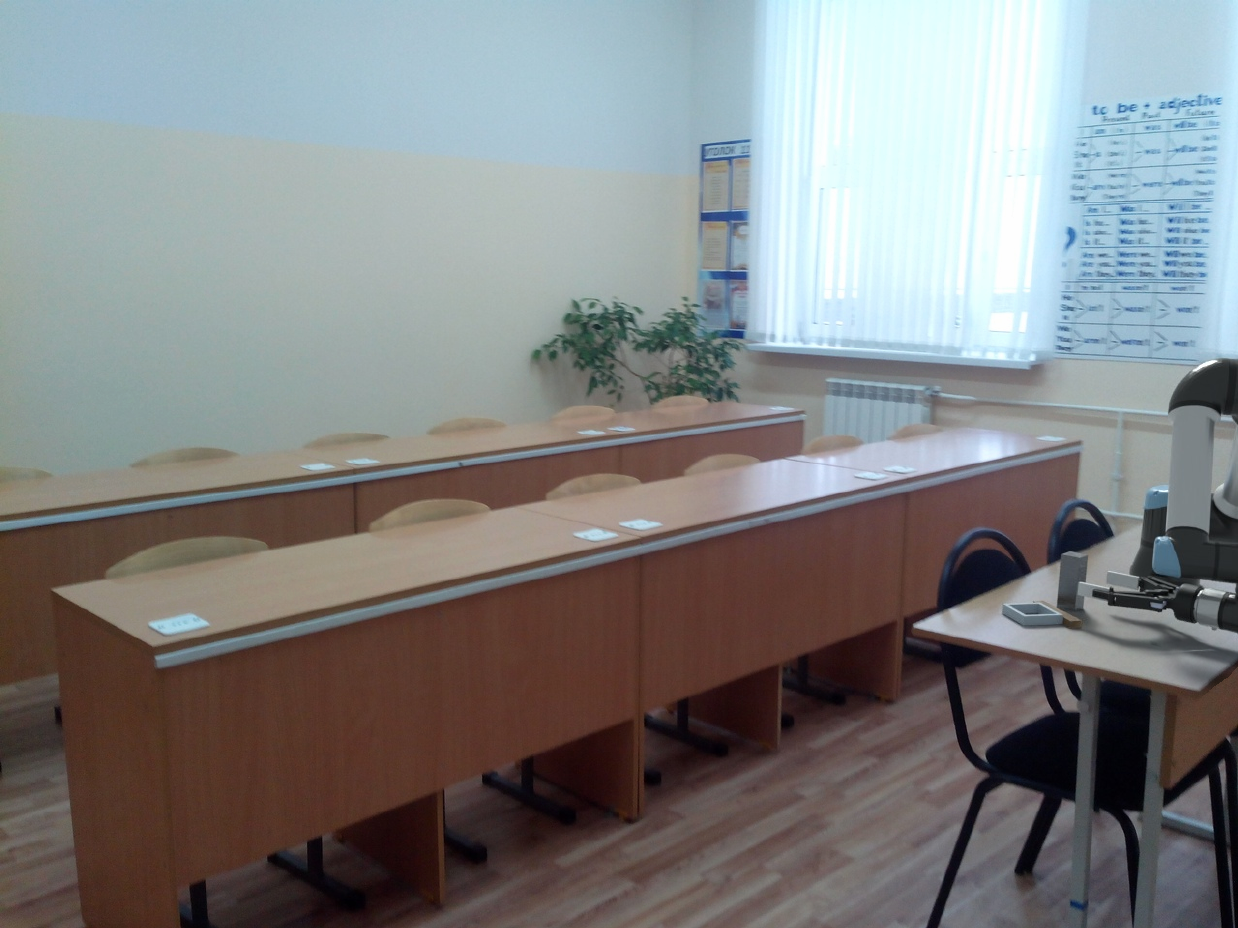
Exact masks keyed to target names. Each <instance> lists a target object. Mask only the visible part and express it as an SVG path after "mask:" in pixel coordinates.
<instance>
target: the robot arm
mask: <svg viewBox="0 0 1238 928" xmlns="http://www.w3.org/2000/svg"><path fill="white" fill-rule="evenodd" d="M1167 410H1168V411H1167V420H1168V422H1169V423H1170V424H1171V425H1172V431H1171V433H1172V434H1171V445H1170V446H1171V447H1170V463H1169V475H1168V477H1169V478H1168V479H1169V480H1168V484H1163V485H1156V486H1153V487H1151V488H1149V489H1148V490H1147V491H1146V492H1145V498H1144V504H1143V506H1142V509H1143V514H1142V515H1143V517H1142V526H1141V534H1140V543H1139V544H1140V545H1139V547H1138V550H1137V552H1136V554H1135V556H1134V559H1133V562H1132V564H1131V565H1130V567H1129V570H1128V571H1129V572H1128V573H1129V574H1126V573H1120V572H1115V571H1111V570H1108V571H1107V572H1106V579H1105V581H1106V582H1105V584H1106V585H1107V584H1108V585H1111V586H1109V587H1107V586H1102V585H1098V584H1093V583H1088V582H1086V583H1084V582H1079V585H1078V595H1080V596H1084V598H1085V597H1086V598H1090V599H1096V600H1099V601H1103V602H1107V606H1109V607H1118V608H1127V609H1128V608H1129V609H1135V610H1136V609H1137V610H1145V611H1151V612H1157V613H1163V611H1166V610H1167V609H1168V610H1169V609H1171V610H1172V611H1173V615H1174V618H1175V619H1176V620H1177V621H1182V622H1184V623H1188V624H1189V623H1190V624H1193V625H1194V624H1195V625H1196V624H1197V623H1198V625H1200V626H1204V627H1209V628H1211V630H1212V631H1214V632H1215V631H1217V630H1222V631H1227V632H1230V633H1234V634H1238V358H1228V357H1219V358H1214V359H1210V360H1207V361H1204V362H1202V363H1200V364H1198V365H1197V366H1195V367H1194V368H1193V369H1191V370H1190V371H1188V373H1186V374H1185V375H1184V377H1182V379H1181V380H1180V381H1179V383H1177V386H1176V387H1175V389H1174V391H1173V393H1172V394H1171V396H1170V399H1169V403H1168V409H1167ZM1222 415H1223V416H1230V417H1231V420H1232V421H1233V422H1234V424H1235V431H1234V436H1233V441H1232V444H1231V450H1230V454H1229V459H1228V464H1227V469H1226V474H1225V477H1224V481H1223V483H1222V484H1220V485H1219V486H1218V487H1217V488H1216V489H1215V490H1214V493H1212V484H1213V464H1214V462H1213V461H1214V447H1215V445H1214V443H1215V429H1216V428H1215V427H1216V426H1217V425H1218V424H1219V423H1220V422H1221V418H1222ZM1201 580H1203V581H1212V582H1219V583H1228V584H1234V585H1235V587H1234V592H1231V591H1227V590H1222V589H1217V588H1211V587H1206V588H1204V587H1203V586H1201ZM1113 586H1116V587H1121V588H1126V589H1129V590H1114V587H1113ZM1130 590H1135V591H1130ZM1138 590H1139V591H1138Z"/></svg>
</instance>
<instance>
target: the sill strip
mask: <svg viewBox="0 0 1238 928" xmlns="http://www.w3.org/2000/svg"><path fill="white" fill-rule="evenodd" d="M1032 603H1042V604H1044V605H1045V606H1047V607H1049V608H1051V609H1053V610H1055V611H1057V612H1059V613H1061V614H1063V621H1062V624H1061V625H1064V626H1066V627H1067V628H1068V629H1080V628H1082V623H1083V620H1081V619H1079V618H1078V617H1076V616H1073V615H1072V614H1070V613H1068V612H1067V611H1064V610H1063V609H1060V608H1057V606H1054V605H1053V604H1050V603H1048V602H1047V601H1045V600H1033V601H1032Z"/></svg>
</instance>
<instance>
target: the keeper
mask: <svg viewBox="0 0 1238 928" xmlns="http://www.w3.org/2000/svg"><path fill="white" fill-rule="evenodd" d="M1001 611H1002V612H1001V613H1002V615H1005V616H1006V617H1009V618H1010V619H1012V620H1014V621H1015V622H1017V623H1018V624H1020V625H1022V626H1025V627H1026V626H1046V625H1047V626H1051V625H1063V624H1062V621H1063V614H1061V613H1059V612H1057V611H1055V610H1053V609H1051V608H1049V607H1047V606H1045V605H1044V604H1042V603H1033V602H1021V603H1020V602H1019V603H1017V602H1016V603H1002V608H1001Z"/></svg>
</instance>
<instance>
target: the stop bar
mask: <svg viewBox="0 0 1238 928" xmlns="http://www.w3.org/2000/svg"><path fill="white" fill-rule="evenodd" d="M1088 560H1089V554H1086V553H1082V552H1077V551H1071V550H1070V551H1069V550H1068V551H1067V552H1064V553H1061V554H1060V566H1059V567H1060V568H1059V577H1058V588H1057V589H1058V590H1057V601H1056V607H1057V608H1058V609H1060V610H1066V611H1069V612H1073V613H1076V612H1078V611H1080V610H1083V609H1084V603H1085V596H1080V595H1078V585H1079V582H1084V583H1087V573H1088V572H1087V571H1088Z"/></svg>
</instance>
